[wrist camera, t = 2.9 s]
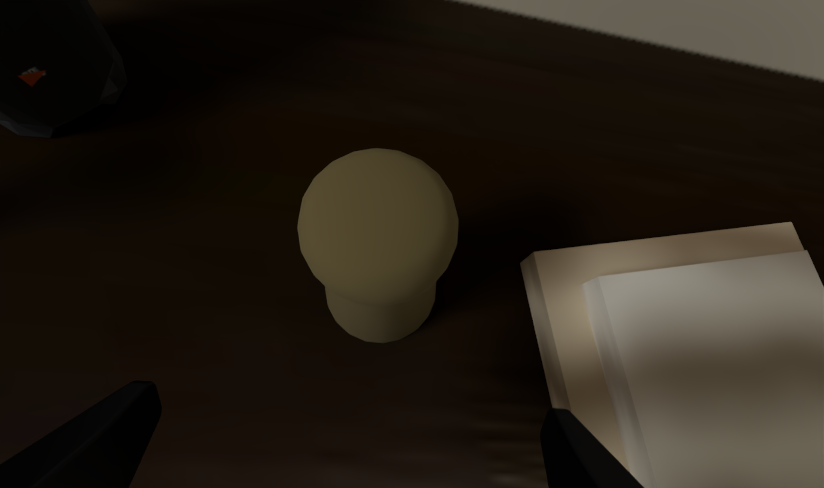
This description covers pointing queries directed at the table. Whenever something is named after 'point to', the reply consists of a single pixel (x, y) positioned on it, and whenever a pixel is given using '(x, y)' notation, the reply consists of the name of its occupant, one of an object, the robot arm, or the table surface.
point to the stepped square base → (689, 354)
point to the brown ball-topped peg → (378, 240)
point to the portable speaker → (54, 64)
